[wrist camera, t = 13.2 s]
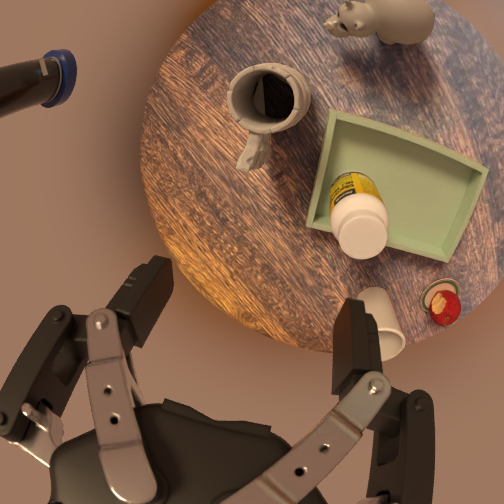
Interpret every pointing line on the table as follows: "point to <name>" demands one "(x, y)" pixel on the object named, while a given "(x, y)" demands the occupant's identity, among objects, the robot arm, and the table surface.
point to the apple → (442, 301)
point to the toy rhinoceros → (383, 20)
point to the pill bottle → (358, 215)
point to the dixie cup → (384, 321)
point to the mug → (263, 109)
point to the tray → (400, 182)
